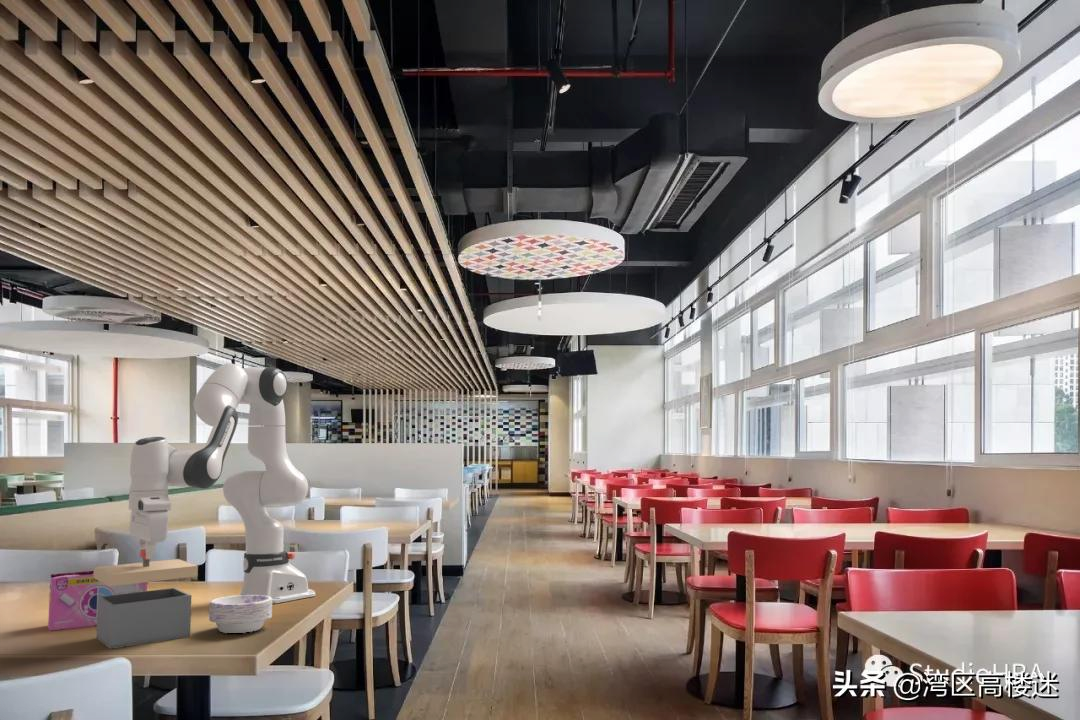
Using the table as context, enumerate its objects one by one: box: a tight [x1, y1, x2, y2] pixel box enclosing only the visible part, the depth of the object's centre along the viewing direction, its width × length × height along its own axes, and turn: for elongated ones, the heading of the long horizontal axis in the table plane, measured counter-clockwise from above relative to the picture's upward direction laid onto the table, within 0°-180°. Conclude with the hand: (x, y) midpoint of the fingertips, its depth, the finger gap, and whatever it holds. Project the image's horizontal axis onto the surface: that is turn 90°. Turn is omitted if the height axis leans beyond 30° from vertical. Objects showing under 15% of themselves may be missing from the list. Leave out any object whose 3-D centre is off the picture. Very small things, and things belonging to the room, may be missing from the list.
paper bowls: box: [208, 594, 273, 634], centre depth 208 cm, size 15×15×8 cm
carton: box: [96, 587, 192, 650], centre depth 202 cm, size 18×14×10 cm
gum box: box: [47, 570, 149, 632], centre depth 219 cm, size 24×8×14 cm, turn 123°
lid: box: [93, 549, 199, 586], centre depth 203 cm, size 20×16×7 cm
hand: (146, 557), depth 203 cm, fingers closed on lid, 3 cm apart
